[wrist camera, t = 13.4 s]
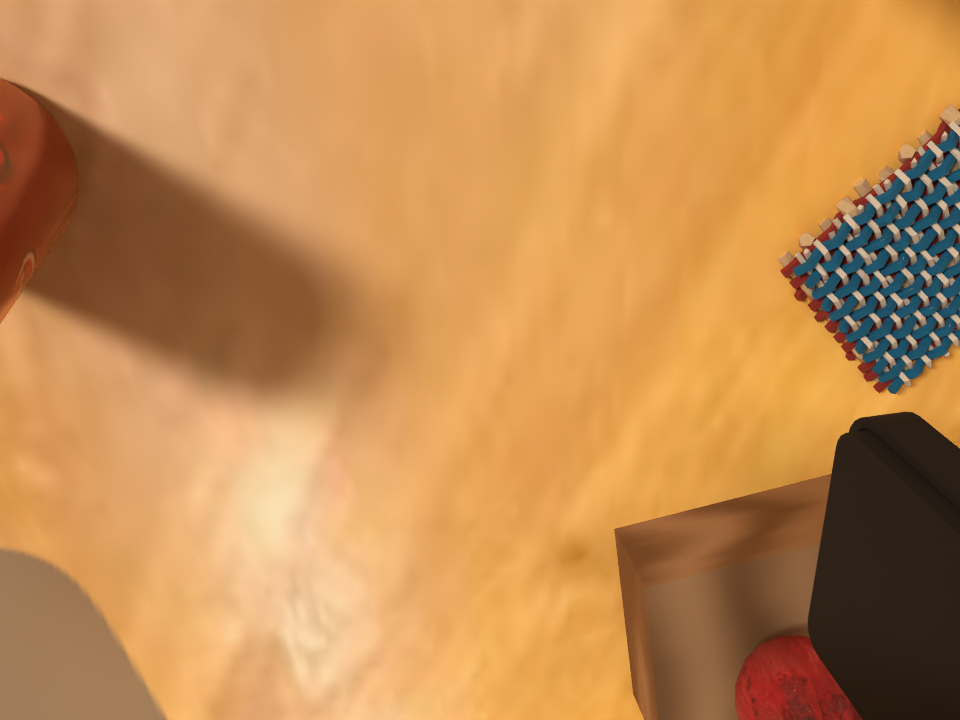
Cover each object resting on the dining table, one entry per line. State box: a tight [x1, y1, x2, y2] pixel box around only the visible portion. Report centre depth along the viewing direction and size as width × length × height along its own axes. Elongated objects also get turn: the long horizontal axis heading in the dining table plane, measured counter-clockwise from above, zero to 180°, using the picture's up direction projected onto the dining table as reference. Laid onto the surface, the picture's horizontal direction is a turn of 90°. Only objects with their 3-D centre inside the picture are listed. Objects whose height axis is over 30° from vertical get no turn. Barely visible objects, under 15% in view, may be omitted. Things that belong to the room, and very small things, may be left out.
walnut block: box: [614, 474, 832, 720], centre depth 48 cm, size 12×12×5 cm
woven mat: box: [778, 104, 960, 394], centre depth 42 cm, size 10×11×2 cm
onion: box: [735, 635, 863, 720], centre depth 42 cm, size 6×6×8 cm
